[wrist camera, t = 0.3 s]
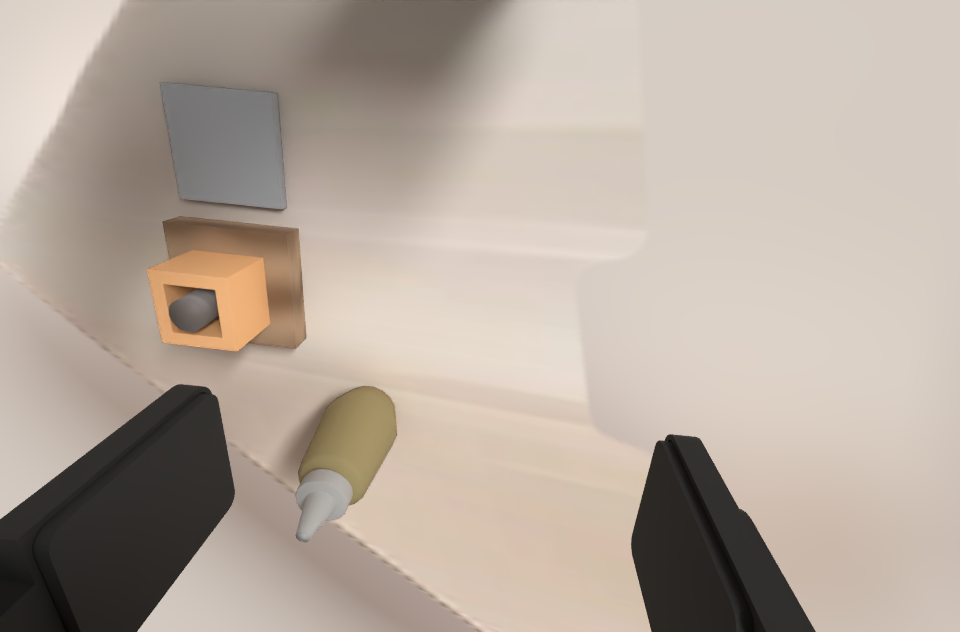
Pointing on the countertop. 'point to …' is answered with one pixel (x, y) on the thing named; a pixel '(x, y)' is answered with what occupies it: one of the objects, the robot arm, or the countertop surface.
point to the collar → (235, 293)
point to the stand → (244, 240)
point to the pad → (225, 144)
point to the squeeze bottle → (344, 456)
